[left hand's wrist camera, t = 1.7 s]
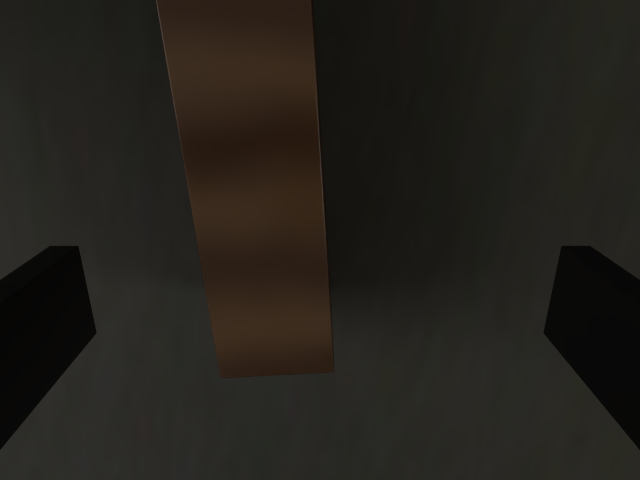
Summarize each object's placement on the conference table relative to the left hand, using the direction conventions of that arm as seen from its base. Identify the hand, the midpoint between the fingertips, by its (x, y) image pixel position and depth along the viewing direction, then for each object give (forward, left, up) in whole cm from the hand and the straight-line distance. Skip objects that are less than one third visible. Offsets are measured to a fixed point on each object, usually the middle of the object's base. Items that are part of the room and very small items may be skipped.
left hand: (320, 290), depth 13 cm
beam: (+14, +20, -15) cm, 29 cm away
